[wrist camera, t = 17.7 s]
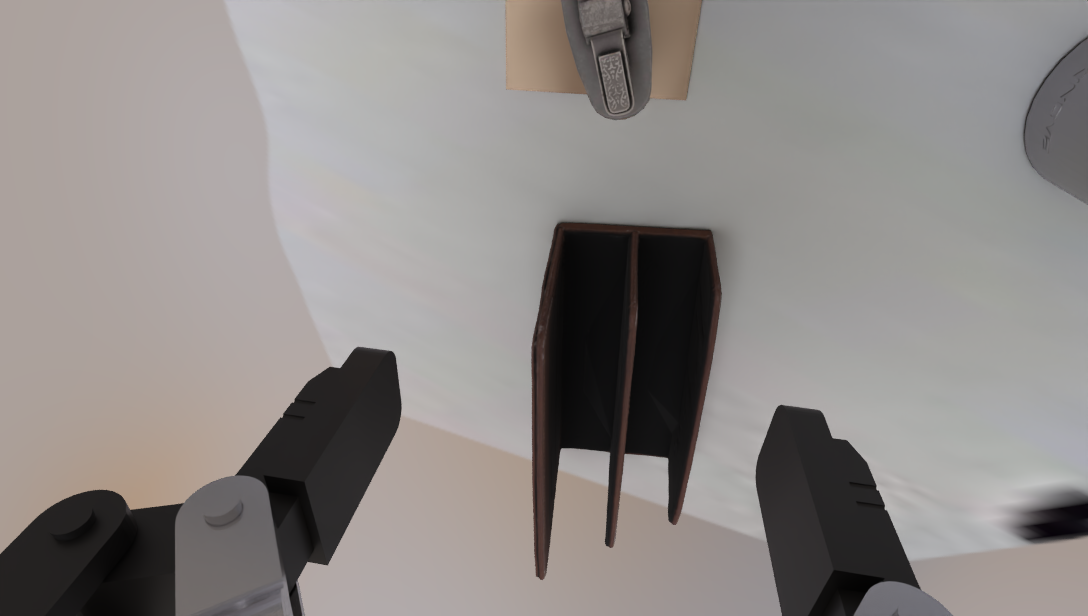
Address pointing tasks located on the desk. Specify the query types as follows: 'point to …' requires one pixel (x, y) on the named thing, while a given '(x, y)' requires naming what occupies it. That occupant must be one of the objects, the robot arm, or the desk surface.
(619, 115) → the lighter
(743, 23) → the desk surface
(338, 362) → the desk surface
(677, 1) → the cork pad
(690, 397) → the letter holder
